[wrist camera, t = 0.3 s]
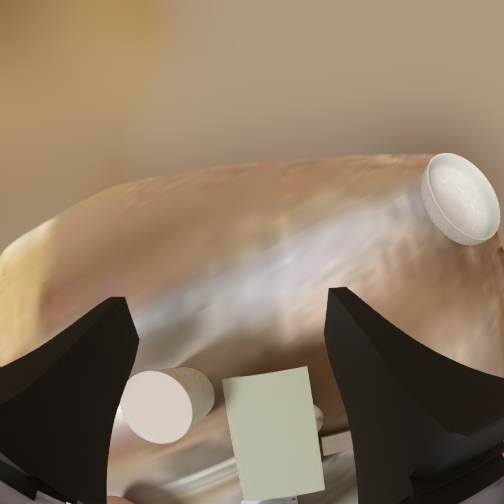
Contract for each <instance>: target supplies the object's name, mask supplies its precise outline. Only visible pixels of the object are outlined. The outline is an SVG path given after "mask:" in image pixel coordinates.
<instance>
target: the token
mask: <svg viewBox="0 0 504 504" xmlns="http://www.w3.org/2000/svg"><path fill="white" fill-rule="evenodd" d="M313 406H314V413H315V420H316V426H317V432H318V431H319V430H320V429H321V427H322V425H323V420H324V418H323V414H322V412H321V410H320V409H319V408H318V407H317V406H316V405H315V404H314V403H313Z"/></svg>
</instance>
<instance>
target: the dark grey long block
mask: <svg viewBox="0 0 504 504" xmlns="http://www.w3.org/2000/svg"><path fill="white" fill-rule="evenodd" d="M320 438H321V445H322V453H323V455H324V456H326V455H330V454H334V453H338V452H342V451H346V450H350V449H353V444H352V438H351V432H350V429H347V430H344V431H340V432H336V433H332V434H328V435H323V436H320Z"/></svg>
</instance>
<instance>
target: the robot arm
mask: <svg viewBox="0 0 504 504" xmlns="http://www.w3.org/2000/svg"><path fill="white" fill-rule="evenodd" d="M324 337H325V342H326V347H327V352H328V357H329V360H330V363H331V366H332V369H333V372H334V375H335V378H336V381H337V384H338V387H339V390H340V394H341V397H342V400H343V403H344V406H345V409H346V413H347V417H348V421H349V427H350V432H351V438H352V444H353V451H354V458H355V466H356V476H357V486H358V504H504V457H503V455H502V453H503V452H504V441H503V440H504V378H502V377H498V376H494V375H490V374H487V373H484V372H481V371H478V370H475V369H473V368H470V367H467V366H465V365H463V364H460V363H458V362H456V361H454V360H451V359H449V358H447V357H445V356H443V355H441V354H439V353H437V352H435V351H433V350H432V349H430V348H428V347H426V346H425V345H423V344H421V343H420V342H418V341H416V340H415V339H413V338H412V337H410V336H409V335H407V334H406V333H404V332H403V331H401V330H400V329H399V328H397V327H396V326H394V325H393V324H392V323H390V322H389V321H388V320H386V319H385V318H384V317H382V316H381V315H380V314H379V313H377V312H376V311H375V310H374V309H372V308H371V307H370V306H369V305H368V304H366V303H365V302H364V301H363V300H362V299H360V298H359V297H358V296H357V295H356V294H354V293H353V292H352V291H351V290H349V289H348V288H347V287H338V288H329V292H328V302H327V311H326V320H325V329H324ZM138 344H139V337H138V334H137V331H136V328H135V326H134V323H133V320H132V317H131V314H130V311H129V308H128V305H127V302H126V299H125V297H110V298H108V299H106V300H105V301H103V302H102V303H100V304H99V305H97V306H96V307H95V308H93V309H92V310H90V311H89V312H88V313H86V314H85V315H84V316H82V317H81V318H80V319H78V320H77V321H76V322H74V323H73V324H72V325H70V326H69V327H68V328H66V329H65V330H63V331H62V332H61V333H59V334H58V335H56V336H55V337H54V338H52V339H51V340H49V341H48V342H46V343H45V344H43V345H42V346H40V347H39V348H37V349H35V350H34V351H32V352H30V353H29V354H27V355H25V356H23V357H21V358H19V359H17V360H15V361H13V362H11V363H9V364H7V365H5V366H3V367H0V504H66V502H68V503H71V504H107V465H108V454H109V447H110V440H111V434H112V429H113V424H114V419H115V415H116V412H117V409H118V406H119V403H120V400H121V397H122V395H123V392H124V389H125V386H126V384H127V381H128V378H129V376H130V373H131V370H132V367H133V365H134V362H135V357H136V353H137V349H138ZM292 498H295V499H292ZM242 504H298V500H297V495H296V496H290V497H284V498H276V499H268V500H258V501H246V502H244V499H243V500H242Z"/></svg>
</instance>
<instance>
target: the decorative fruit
mask: <svg viewBox="0 0 504 504" xmlns="http://www.w3.org/2000/svg"><path fill="white" fill-rule="evenodd" d="M107 504H134V503H132V502H131V501H129V500H127V499H124V498H121V497H117V496H107Z"/></svg>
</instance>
